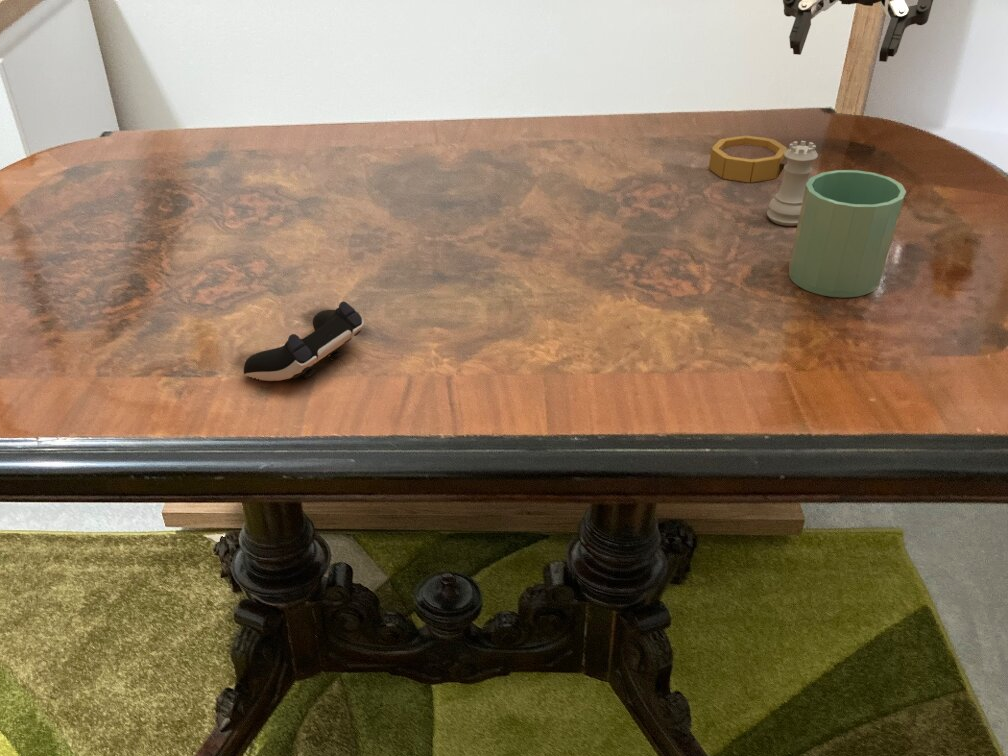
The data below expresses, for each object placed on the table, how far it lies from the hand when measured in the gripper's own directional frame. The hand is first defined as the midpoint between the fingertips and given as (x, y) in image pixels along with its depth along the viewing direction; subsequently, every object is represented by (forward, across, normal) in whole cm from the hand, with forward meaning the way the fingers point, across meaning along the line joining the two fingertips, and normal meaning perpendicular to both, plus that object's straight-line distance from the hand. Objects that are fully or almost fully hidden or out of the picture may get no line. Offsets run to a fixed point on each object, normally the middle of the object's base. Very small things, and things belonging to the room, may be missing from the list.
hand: (838, 54), depth 96 cm
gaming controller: (+50, +30, +29) cm, 65 cm away
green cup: (+25, -7, +4) cm, 26 cm away
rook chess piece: (+17, 0, -4) cm, 17 cm away
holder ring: (+8, +8, -12) cm, 17 cm away
